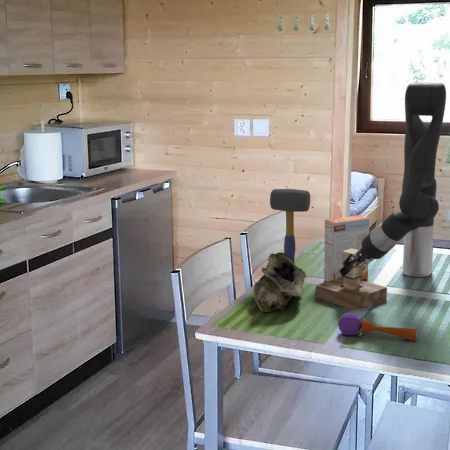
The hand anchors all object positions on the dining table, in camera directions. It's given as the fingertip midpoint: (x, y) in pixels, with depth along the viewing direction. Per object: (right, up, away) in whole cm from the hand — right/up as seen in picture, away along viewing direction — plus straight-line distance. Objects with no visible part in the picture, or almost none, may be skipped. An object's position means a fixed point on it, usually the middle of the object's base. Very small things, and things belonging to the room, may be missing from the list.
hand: (346, 271), depth 212 cm
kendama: (+3, -15, -29) cm, 33 cm away
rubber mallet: (-15, -4, +23) cm, 28 cm away
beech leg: (+1, -5, 0) cm, 5 cm away
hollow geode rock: (-20, -9, 0) cm, 21 cm away
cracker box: (+3, -4, +19) cm, 20 cm away
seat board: (+1, -8, 0) cm, 8 cm away
